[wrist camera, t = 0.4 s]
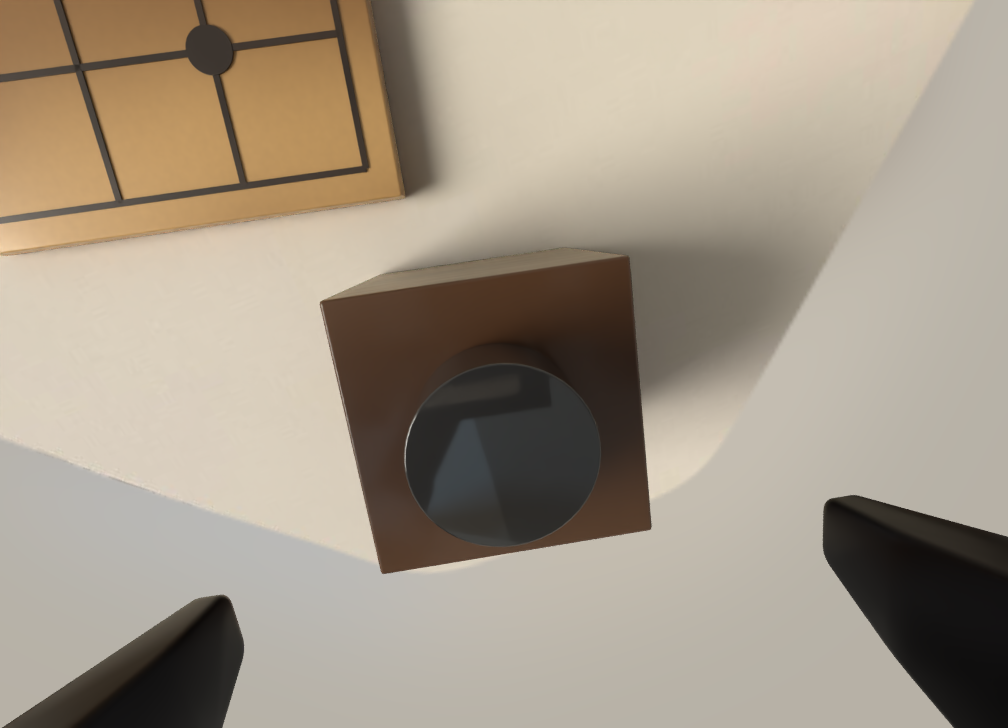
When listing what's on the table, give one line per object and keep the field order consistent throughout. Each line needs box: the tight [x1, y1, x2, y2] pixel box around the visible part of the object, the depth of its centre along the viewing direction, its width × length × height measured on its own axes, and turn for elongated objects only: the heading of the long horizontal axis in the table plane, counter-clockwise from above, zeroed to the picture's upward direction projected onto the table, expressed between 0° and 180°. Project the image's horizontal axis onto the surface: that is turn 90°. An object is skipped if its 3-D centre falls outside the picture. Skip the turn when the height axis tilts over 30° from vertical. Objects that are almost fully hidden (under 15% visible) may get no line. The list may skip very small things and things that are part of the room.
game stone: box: [404, 343, 601, 547], centre depth 12 cm, size 4×4×2 cm
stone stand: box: [320, 248, 651, 574], centre depth 16 cm, size 7×7×8 cm
